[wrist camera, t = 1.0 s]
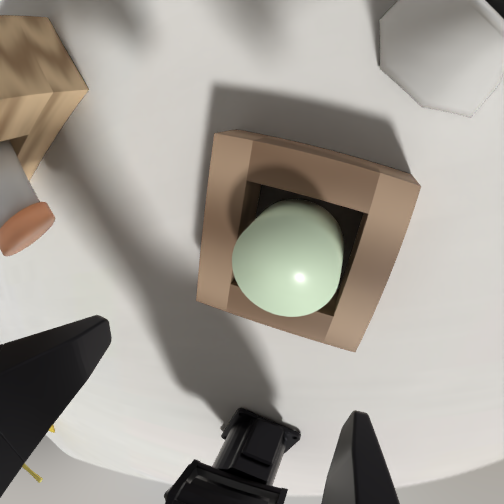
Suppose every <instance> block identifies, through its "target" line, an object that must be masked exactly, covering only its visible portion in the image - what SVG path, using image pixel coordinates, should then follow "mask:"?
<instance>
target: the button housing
mask: <svg viewBox="0 0 504 504" xmlns="http://www.w3.org/2000/svg"><path fill="white" fill-rule="evenodd" d="M261 184H262V185H266V186H270V187H274V188H278V189H282V190H286V191H290V192H294V193H297V194H301V195H305V196H308V197H312V198H316V199H319V200H323V201H326V202H330V203H333V204H337V205H340V206H344V207H347V208H351V209H354V210H357V211H361V212H363V215H362V219H361V222H360V225H359V229H358V232H357V235H356V238H355V242H354V245H353V248H352V251H351V254H350V257H349V260H348V263H347V266H346V269H345V272H344V275H343V278H342V281H341V284H340V287H339V289H336V292H335V294H334V295H333V297H332V298H331V299H330V301H329V302H328V303H327V304H326V305H325V306H323V307H322V308H320V309H319V310H317V311H315V312H313V313H311V314H308V315H304V316H297V317H286V316H280V315H276V314H273V313H270V312H267V311H265V310H263V309H261V308H260V307H258V306H257V305H255V304H254V303H253V302H252V301H250V300H249V299H248V298H247V297H246V296H245V294H244V293H243V292H242V290H241V289H240V287H239V286H238V284H237V282H236V279H235V276H234V273H233V268H232V254H233V249H234V246H235V244H236V242H237V240H238V238H239V237H240V235H241V234H242V233H243V232H244V231H245V230H246V229H247V228H248V227H249V226H250V224H251V223H252V222H253V221H254V220H255V217H256V212H257V206H258V201H259V195H260V189H261ZM420 188H421V186H420V184H419V183H418V182H417V181H416V179H415V178H414V177H413V176H412V174H409V173H406V172H403V171H400V170H397V169H394V168H390V167H387V166H384V165H381V164H378V163H374V162H371V161H368V160H364V159H361V158H357V157H354V156H350V155H347V154H343V153H339V152H335V151H332V150H328V149H324V148H320V147H316V146H312V145H308V144H304V143H299V142H295V141H291V140H286V139H282V138H277V137H273V136H268V135H263V134H258V133H253V132H248V131H242V130H237V129H236V130H230V131H224V132H219V133H214V139H213V147H212V154H211V162H210V170H209V178H208V186H207V195H206V203H205V212H204V221H203V231H202V241H201V251H200V262H199V273H198V285H197V297H196V301H198V302H201V303H204V304H206V305H209V306H212V307H215V308H218V309H220V310H223V311H226V312H229V313H232V314H235V315H238V316H240V317H243V318H246V319H249V320H252V321H255V322H258V323H261V324H264V325H267V326H270V327H273V328H276V329H279V330H283V331H286V332H289V333H292V334H295V335H298V336H301V337H305V338H308V339H311V340H314V341H318V342H321V343H324V344H328V345H331V346H335V347H338V348H341V349H345V350H348V351H352V352H356V350H357V348H358V346H359V344H360V342H361V340H362V338H363V335H364V333H365V331H366V329H367V327H368V325H369V323H370V320H371V318H372V316H373V314H374V311H375V309H376V307H377V305H378V302H379V300H380V298H381V295H382V293H383V291H384V288H385V286H386V283H387V281H388V278H389V276H390V274H391V271H392V268H393V266H394V263H395V261H396V258H397V256H398V253H399V250H400V248H401V245H402V242H403V239H404V237H405V234H406V231H407V228H408V225H409V222H410V219H411V216H412V213H413V210H414V207H415V204H416V201H417V198H418V195H419V191H420Z"/></svg>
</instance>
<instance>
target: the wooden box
mask: <svg viewBox="0 0 504 504" xmlns="http://www.w3.org/2000/svg"><path fill="white" fill-rule="evenodd" d="M88 90H89V89H88V87H87V86H86V84H85V82H84V81H83V79H82V77H81V75H80V74H79V72H78V70H77V69H76V67H75V65H74V63H73V62H72V60H71V58H70V56H69V55H68V53H67V51H66V49H65V48H64V46H63V44H62V42H61V40H60V39H59V37H58V35H57V33H56V31H55V30H54V28H53V26H52V24H51V22H50V20H49V19H48V17H34V16H10V15H0V142H1V141H5V140H10V142H11V145H12V147H13V149H14V151H15V153H16V155H17V158H18V160H19V162H20V164H21V166H22V168H23V170H24V172H25V174H26V176H27V178H28V180H29V181H30V179H31V177H32V175H33V174H34V172H35V170H36V168H37V167H38V165H39V163H40V161H41V160H42V158H43V156H44V155H45V153H46V151H47V150H48V148H49V147H50V145H51V143H52V142H53V140H54V139H55V137H56V136H57V134H58V132H59V131H60V129H61V128H62V126H63V125H64V123H65V122H66V121H67V119H68V118H69V116H70V115H71V113H72V112H73V111H74V109H75V108H76V106H77V105H78V104H79V102H80V101H81V100H82V98H83V97H84V96H85V94H86V93H87V92H88Z"/></svg>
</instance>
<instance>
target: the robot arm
mask: <svg viewBox="0 0 504 504" xmlns="http://www.w3.org/2000/svg"><path fill="white" fill-rule="evenodd" d="M110 343H111V332H110V326H109V321H108V320H107V319H105V318H103V317H101V316H99V315H95V316H92V317H88V318H85V319H82V320H79V321H76V322H73V323H69V324H66V325H63V326H60V327H57V328H53V329H50V330H47V331H44V332H40V333H37V334H34V335H31V336H28V337H24V338H21V339H18V340H14V341H11V342H8V343H5V344H4V345H3V344H1V345H0V497H1V496H2V494H3V493H4V492H5V490H6V489H7V487H8V486H9V484H10V483H11V482H12V480H13V479H14V477H15V476H16V474H17V473H18V472H19V470H20V469H21V467H22V466H23V465H24V463H25V461H26V460H27V459H28V457H29V456H30V455H31V453H32V452H33V451H34V449H35V448H36V447H37V445H38V444H39V442H40V441H41V440H42V438H43V437H44V436H45V434H46V433H47V432H48V430H49V429H50V428H51V426H52V425H53V424H54V422H55V421H56V420H57V418H58V417H59V416H60V415H61V413H62V412H63V411H64V409H65V408H66V407H67V405H68V404H69V403H70V402H71V400H72V399H73V398H74V396H75V395H76V394H77V393H78V391H79V390H80V389H81V387H82V386H83V385H84V384H85V382H86V381H87V380H88V378H89V377H90V375H91V374H92V372H93V371H94V369H95V367H96V366H97V364H98V363H99V361H100V359H101V358H102V356H103V355H104V353H105V352H106V350H107V348H108V347H109V345H110ZM221 437H222V438H223V439H225V442H224V444H223V446H222V448H221V450H220V452H219V454H218V456H217V458H216V460H215V462H214V464H213V466H212V467H211V466H209V465H206V464H203V463H201V462H200V461H198V460H196V459H194V460H193V462H192V463H191V464H189V465H188V466H187V468H186V469H185V471H184V472H183V473H182V475H181V476H180V477H179V479H178V480H177V481H176V482H175V484H174V485H173V486H172V487H171V488H170V489H169V490H167V491H166V493H165V494H164V498H165V500H166V503H165V504H284V501H285V497H286V494H287V491H288V489H285V488H278V487H274V486H272V485H273V482H274V479H275V476H276V474H277V471H278V468H279V465H280V462H281V459H282V456H283V454H284V453H285V452H287V451H288V450H289V449H290V448H291V447H292V446H293V445H294V444H295V443H296V442H298V441H299V440H300V437H301V434H300V433H298V432H296V431H293V430H291V429H288V428H286V427H283V426H281V425H279V424H276V423H274V422H272V421H269V420H267V419H265V418H263V417H260V416H258V415H256V414H254V413H252V412H249V411H247V410H245V409H243V408H239V409H238V410H237V411H236V413H235V415H234V416H233V418H232V419H231V421H230V422H229V424H228V426H227V427H226V429H225V430H224V432H223V433H222V435H221ZM321 504H400V503H399V500H398V497H397V494H396V491H395V488H394V485H393V482H392V479H391V476H390V473H389V470H388V468H387V465H386V462H385V459H384V456H383V453H382V451H381V448H380V445H379V442H378V440H377V437H376V434H375V431H374V429H373V426H372V423H371V421H370V418H369V415H368V414H367V413H364V412H360V411H353V412H352V413H351V415H350V416H349V418H348V419H347V421H346V422H345V424H344V425H343V427H342V430H341V432H340V436H339V439H338V443H337V446H336V449H335V453H334V456H333V459H332V462H331V466H330V469H329V472H328V475H327V479H326V484H325V489H324V494H323V498H322V503H321Z"/></svg>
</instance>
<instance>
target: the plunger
mask: <svg viewBox="0 0 504 504" xmlns="http://www.w3.org/2000/svg"><path fill="white" fill-rule="evenodd" d="M54 221H55V217H54V215H53V213H52V211H51V210H50V208H49V206H48V204H47V203H46V202H40V201H39V199H38V197H37V195H36V193H35V191H34V190H33V188H32V186H31V184H30V182H29V180H28V178H27V176H26V174H25V172H24V170H23V168H22V166H21V164H20V162H19V160H18V158H17V155H16V153H15V151H14V149H13V147H12V145H11V142H10V140H5V141H1V142H0V250H1V251H2V253H3V255H4V256H11V255H13V254H16V253H18V252H20V251H21V250H23V249H25V248H26V247H28V246H29V245H31V244H32V243H34V242H35V241H36V240H37V239H39V238H40V237H41V236H42V235H43V234H44V233H45V232H46V231H47V230H48V229H49V228H50V227H51V226H52V225H53V223H54Z"/></svg>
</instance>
